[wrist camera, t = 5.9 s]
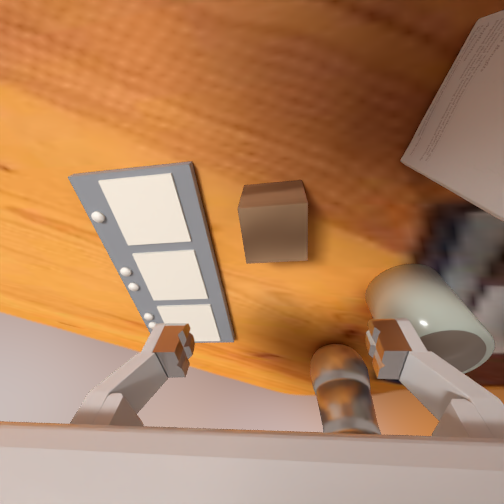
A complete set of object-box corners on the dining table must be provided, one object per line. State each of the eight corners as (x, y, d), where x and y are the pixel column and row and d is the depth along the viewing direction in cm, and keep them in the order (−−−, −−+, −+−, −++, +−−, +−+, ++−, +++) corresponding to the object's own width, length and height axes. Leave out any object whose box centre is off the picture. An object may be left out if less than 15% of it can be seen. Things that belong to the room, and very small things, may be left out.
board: (74, 173, 21) (65, 178, 20) (191, 161, 19) (187, 165, 18) (157, 337, 32) (154, 345, 31) (234, 336, 31) (233, 344, 30)
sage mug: (370, 265, 24) (402, 326, 18) (452, 261, 23) (514, 325, 17) (361, 316, 27) (384, 381, 22) (430, 315, 27) (475, 382, 21)
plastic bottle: (314, 371, 34) (351, 647, 17) (301, 340, 30) (333, 648, 14) (364, 364, 32) (458, 663, 16) (357, 331, 29) (467, 668, 12)
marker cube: (244, 184, 20) (237, 208, 16) (301, 179, 20) (307, 202, 16) (251, 233, 23) (246, 263, 19) (301, 230, 22) (307, 260, 18)
